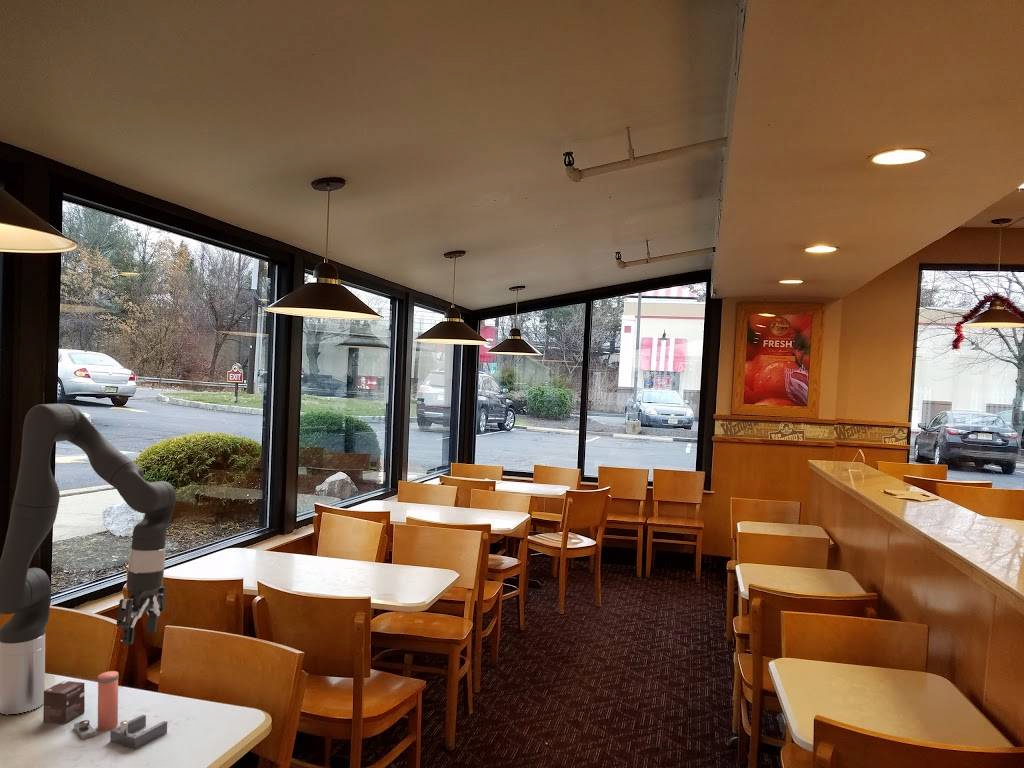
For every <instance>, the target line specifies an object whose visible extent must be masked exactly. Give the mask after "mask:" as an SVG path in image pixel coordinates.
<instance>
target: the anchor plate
mask: <svg viewBox="0 0 1024 768" xmlns="http://www.w3.org/2000/svg"><path fill="white" fill-rule="evenodd" d="M90 722H91V721H90V719H89V720H88V719H85V720H82V721H79V722H76V723H73V729H74V730H75V732H76V733H77V735H78V736H79V738H80V739H81V740H86V739H89V738H91V737H94V736H96V730H95V729H94V728H93V727H92V725H91V723H90Z"/></svg>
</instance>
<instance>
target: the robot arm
mask: <svg viewBox="0 0 1024 768" xmlns="http://www.w3.org/2000/svg"><path fill="white" fill-rule="evenodd" d="M21 438H22V440H21V451H20V462H19V469H18V475H17V480H16V481H17V482H16V488H15V492H14V496H13V500H12V504H11V509H10V517H9V522H8V527H7V532H6V536H5V540H4V545H3V548H2V549H3V550H2V554H1V556H0V615H12V614H13V615H12V616H11V617H10V618H9V620H8V621H7V622H6V623H4V624H3V625H2V626H1V628H0V713H1V714H0V715H2V714H17V713H22V714H24V713H23V712H26V713H28V712H27V711H29V712H32V711H34V710H33V709H35V710H36V708H37V709H39V708H40V707H42V706H43V705H44V691H45V690H46V688H45V687H46V686H45V685H46V682H45V680H46V674H45V673H46V626H47V625H48V623H49V620H50V608H51V596H52V595H51V594H52V589H51V588H52V586H51V581H50V577H49V576H48V574H47V572H46V571H45V570H43V569H41V568H39V567H30V565H31V562H32V559H33V557H34V554H35V553H36V551H37V550H38V549H39V547H40V545H42V543H43V542H44V540H45V539H46V538H47V536H48V534H49V533H50V532H51V529H52V528H53V526H54V524H55V522H56V519H57V513H58V508H59V505H60V500H61V499H60V498H61V495H60V489H59V486H58V484H57V481H56V479H55V477H54V475H53V472H52V468H51V456H52V451H53V447H54V444H55V442H65V441H66V442H69V443H71V444H73V445H75V446H77V447H78V448H80V450H82V452H84V453H85V454H86V456H87V458H88V461H89V464H90V466H91V468H92V469H93V471H94V472H95V474H97V476H99V477H100V478H101V479H102V480H104V481H105V482H106V483H107V484H109V485H110V486H112V487H113V488H114V489H115V490H117V492H118V494H119V495H120V497H121V498H122V499H123V501H124V502H125V503H126V505H127V506H128V507H130V508H131V509H132V510H134V511H136V512H137V513H141V514H144V517H143V519H142V520H141V521H140V522H138V523H137V524H135V526H134V527H133V529H132V538H131V547H130V552H129V553H130V554H129V558H128V567H127V574H126V583H125V585H126V586H125V587H126V589H127V590H128V591H130V594H129V597H128V598H121V599H120V600H119V602H118V603H119V604H118V608H117V609H118V611H117V618H116V625H115V626H116V627H120V628H121V627H122V638H121V640H122V642H121V643H122V644H123V645H132V644H133V643H134V637H135V628H136V627H135V625H136V623H137V622H138V620H139V619H140V618H142V615H143V614H144V613H145V612H146V615H148V616H147V617H146V625H145V633H149V634H155V632H157V628H158V618H159V616H160V615H161V612H164V611H165V610H166V594H167V593H166V592H167V588H166V586H163V584H164V573H165V563H166V542H167V541H166V539H167V529H168V528H169V527H168V526H169V525H170V521H171V518H172V517H173V514H174V510H175V506H176V502H177V495H176V493H177V492H176V490H175V488H174V486H173V485H172V484H171V483H170V482H168V481H164V480H159V481H158V480H157V481H150V482H149V481H146V480H145V479H144V475H145V474H144V470H143V468H141V466H140V465H138V464H137V463H136V462H134V460H132V459H130V458H129V457H128V456H127V455H125V454H124V453H123V452H121V451H120V450H119V449H117V448H116V447H115V446H114V445H113V444H112V443H111V442H110V441H109V440H108V439H107V437H105V436H104V435H103V434H102V433H101V432H100V431H99V429H97V428H96V426H95V425H94V424H93V423H92V422H91V421H90V420H89V418H88V417H87V416H86V415H85V414H84V413H83V412H82V411H81V410H79V408H77V407H76V406H75V405H72V404H70V403H69V404H68V403H46V404H45V403H41V404H37V405H35V406H32V407H31V408H30V409H29V410H28V412H27V413H26V415H25V418H24V422H23V427H22V437H21ZM29 567H30V568H29ZM159 603H160V604H159ZM123 617H124V618H123ZM131 618H132V619H131ZM42 704H43V705H42ZM41 705H42V706H41ZM38 707H39V708H38ZM31 710H32V711H31ZM17 715H18V714H17Z"/></svg>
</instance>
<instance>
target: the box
mask: <svg viewBox="0 0 1024 768" xmlns="http://www.w3.org/2000/svg"><path fill="white" fill-rule="evenodd" d="M85 701H86V700H85V682H81V681H71V680H63V681H61V682H60V683H57V684H55V685H52V686H51V687H49V688H47V689H45V691H44V704H43V715H42V716H43V717H42V718H43V719H42V722H44V721H46V722H45V723H53V724H61V725H64V724H65V725H66V724H68V723H69V722H72V721H73V720H74V719H76V718H78V717H79V716H82V715H83V714H84V713H85V706H86V705H85Z"/></svg>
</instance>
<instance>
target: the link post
mask: <svg viewBox="0 0 1024 768" xmlns="http://www.w3.org/2000/svg"><path fill="white" fill-rule="evenodd" d="M118 714H119V672H118V671H117V670H116V671H115V670H109V671H104V672H102V673H99V675H98V676H97V730H98V731H100V732H107V731H110V730H112V729H114V728H116V727H118V726H119V725H118V724H119V715H118Z"/></svg>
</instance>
